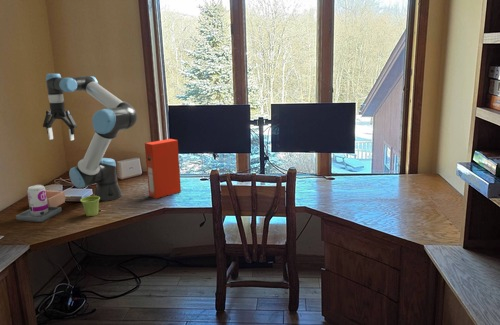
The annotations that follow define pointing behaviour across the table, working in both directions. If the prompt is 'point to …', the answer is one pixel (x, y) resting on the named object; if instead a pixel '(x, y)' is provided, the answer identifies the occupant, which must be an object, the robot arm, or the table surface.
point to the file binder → (163, 168)
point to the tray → (28, 217)
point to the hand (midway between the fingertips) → (61, 139)
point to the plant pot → (90, 205)
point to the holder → (54, 198)
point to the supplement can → (37, 200)
